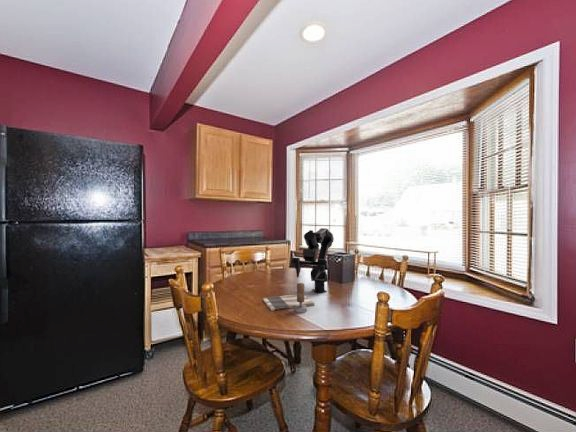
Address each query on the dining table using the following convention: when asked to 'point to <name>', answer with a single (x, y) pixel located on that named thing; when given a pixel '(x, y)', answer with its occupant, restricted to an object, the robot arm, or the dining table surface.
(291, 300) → the cream and grey cloth
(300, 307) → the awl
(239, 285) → the dining table surface
